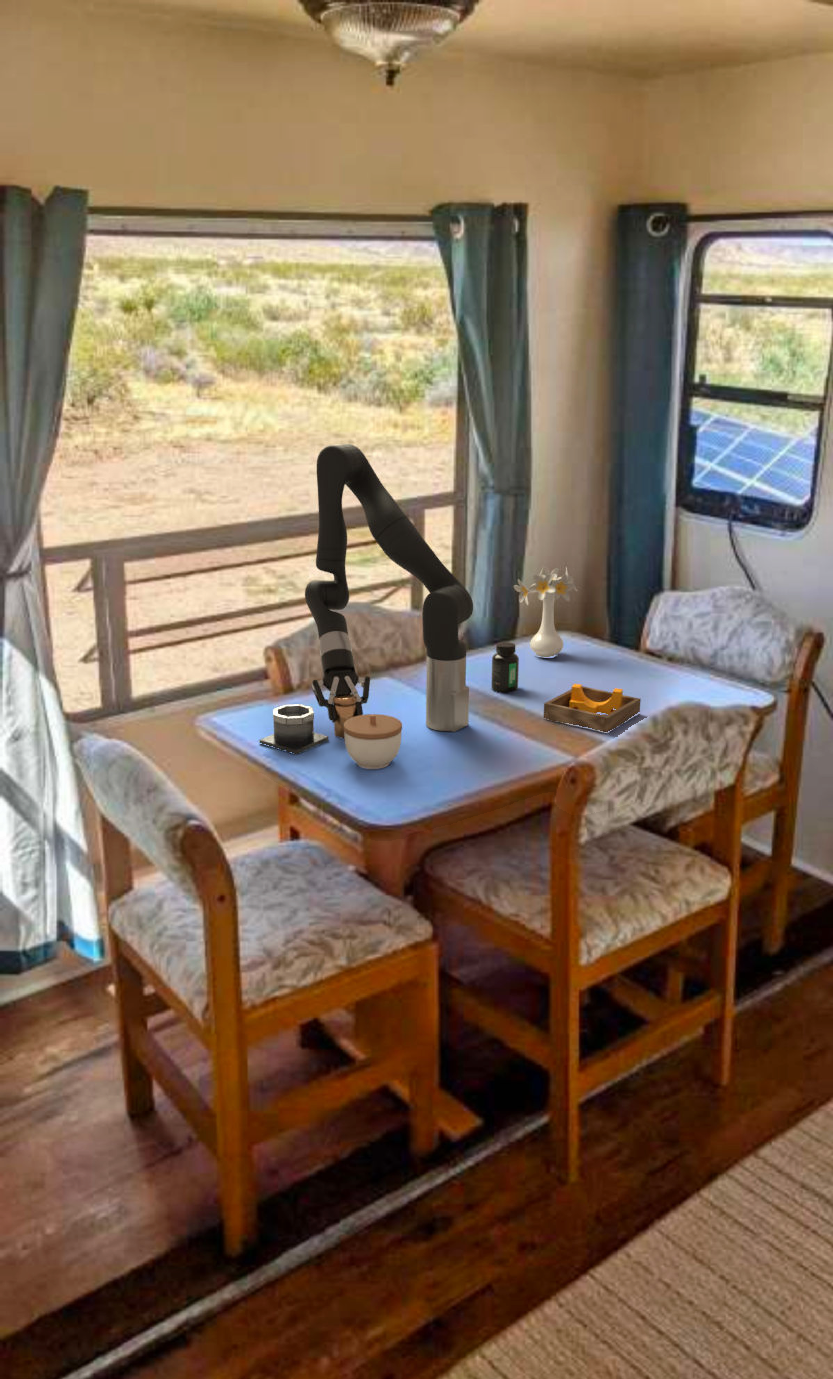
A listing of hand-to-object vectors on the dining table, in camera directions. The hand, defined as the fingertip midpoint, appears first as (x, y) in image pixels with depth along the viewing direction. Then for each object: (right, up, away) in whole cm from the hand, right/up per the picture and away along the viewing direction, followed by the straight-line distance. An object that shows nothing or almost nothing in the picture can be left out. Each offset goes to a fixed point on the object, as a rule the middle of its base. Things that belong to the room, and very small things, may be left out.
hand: (346, 719), depth 276 cm
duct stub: (-12, -5, -2) cm, 13 cm away
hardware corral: (+58, 0, +15) cm, 60 cm away
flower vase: (+52, +16, +62) cm, 82 cm away
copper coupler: (-1, -3, +3) cm, 5 cm away
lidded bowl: (+7, -9, -13) cm, 18 cm away
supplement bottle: (+39, +7, +35) cm, 52 cm away
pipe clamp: (+59, +1, +18) cm, 62 cm away
